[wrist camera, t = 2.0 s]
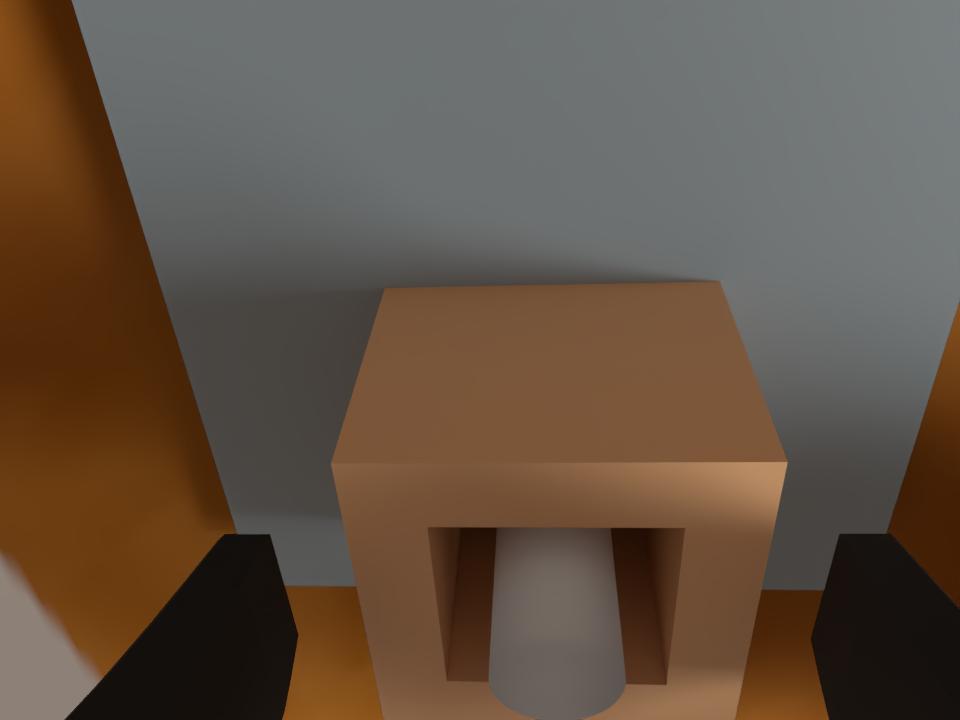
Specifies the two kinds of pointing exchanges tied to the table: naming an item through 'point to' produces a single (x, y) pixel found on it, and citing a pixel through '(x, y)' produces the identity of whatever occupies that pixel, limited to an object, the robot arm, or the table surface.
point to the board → (545, 238)
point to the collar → (558, 482)
